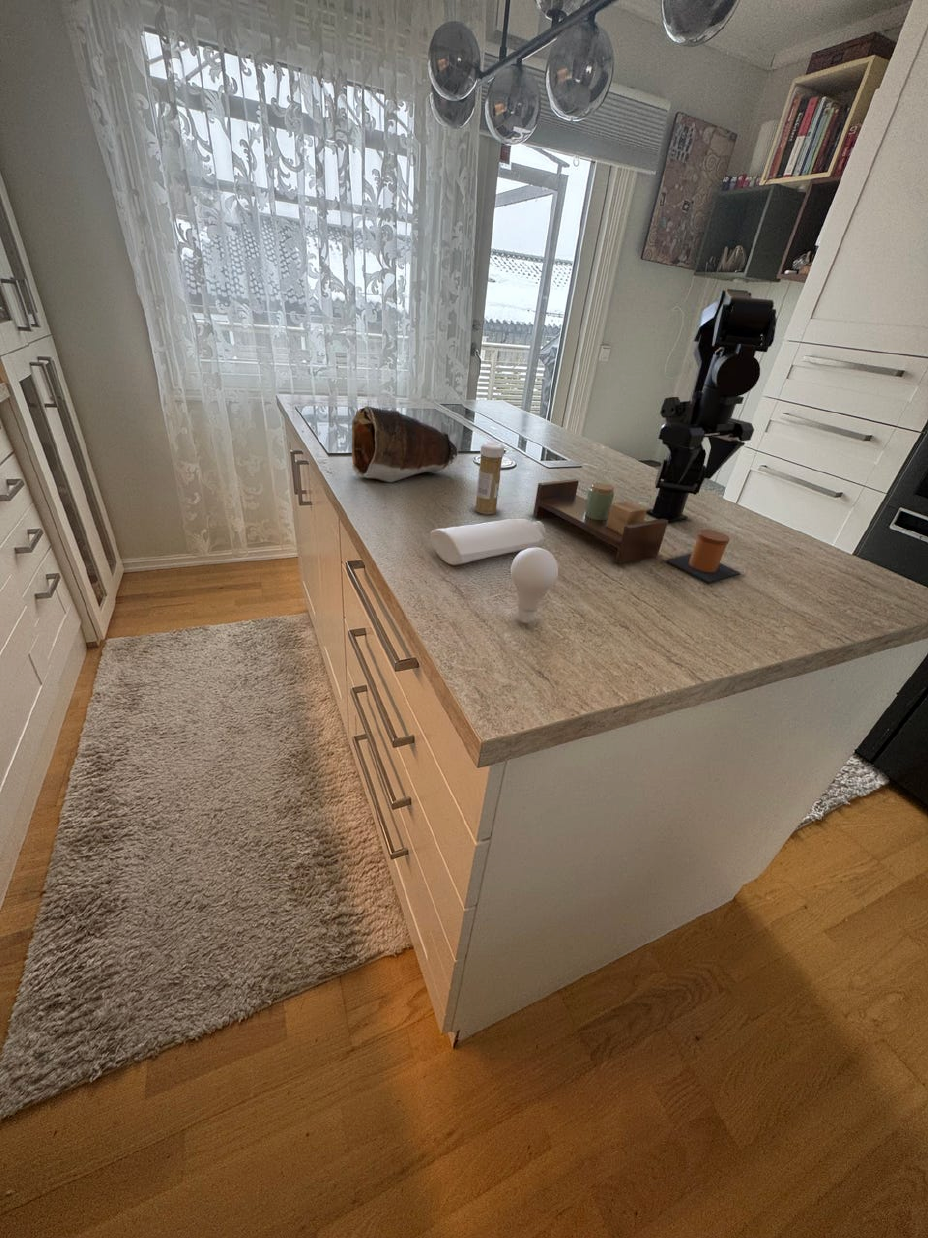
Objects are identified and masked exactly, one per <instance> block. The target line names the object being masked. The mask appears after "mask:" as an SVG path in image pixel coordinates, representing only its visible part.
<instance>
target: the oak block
mask: <svg viewBox="0 0 928 1238" xmlns="http://www.w3.org/2000/svg"><path fill="white" fill-rule="evenodd" d="M647 510H648V508H645V507H644V506H642V505H640V504H637V503H634V502H632V501H630V500H625V501H620V502H619V501H618V502H612V504H611V508H610V513H609V517H608V521H607V525H606V527H608V528H610V529H612V530H614V531H616V532H618V533H620V534H623V531H624V527H625V526H626V525H631V524H636V523H642V522H645V517H646V514H647Z"/></svg>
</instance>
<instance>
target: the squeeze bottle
mask: <svg viewBox="0 0 928 1238" xmlns="http://www.w3.org/2000/svg"><path fill="white" fill-rule="evenodd" d="M545 533H546V531H545V525H544V524H543V523H542V521H540V520H536V521H531V520H528V519H525V518H517V519H516V518H508V519H501V520H496V521H488V522H483V523H482V522H480V523H477V524H476V523H475V524H467V525H460V526H452V527H446V528H436V529H433V530H432V531H430V542H431V543H430V544H431V545H432V547H433V549H434V551H435V552H436V554H437V556H439V558H441V560H443V561H444V562H445V563H446V564H448V565H452V566H457V565H462V564H467V563H470V562H476V561H479V560H484V559H489V558H492V557H498V556H502V555H507V554H511V553H517V552H522V551H523V550H525V549H528V548H533V547H538V548H539V546H543V545H544V543H545V537H544V536H545Z"/></svg>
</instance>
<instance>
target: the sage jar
mask: <svg viewBox="0 0 928 1238" xmlns="http://www.w3.org/2000/svg"><path fill="white" fill-rule="evenodd" d="M614 495H615V491H614V486H613V485H611V484H608V483H603V482H593V483H591V487H589V489H588V494H587V498H586V500H587V502H586V507H585V511H584V515H585V516H586V517H588V518H590V519H594V520H606V519H608V516H609V512H610V509H611V505H612V503H613V500H614V497H615V496H614Z"/></svg>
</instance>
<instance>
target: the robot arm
mask: <svg viewBox="0 0 928 1238" xmlns="http://www.w3.org/2000/svg"><path fill="white" fill-rule="evenodd" d="M774 307H775V302H774V300H773V299H766V298H754V297H752V292H749V290H744V289H732V288H726V289H722V290H721V291H720V293H719V296H718V298H717V300H715V301H714V302H712V303H711V304H710V305H708V306H707V307H705V308H704V309H703V311H702V313H701V315H700V318H699V320H698V323H697V326H696V329H695V332H694V337H693V342H695V345H694V350H693V356H694V359H695V363H696V365H697V370H696V372H695V373H696V374H695V378H694V382H693V384H692V390H691V393H690V397H689V400H686V401H685V400H684V401H681V400H680V397H679V396H670V397H665V398H664V400H663V402H662V405H661V408H660V412H659V413H660V416H661V417H662V418H663V419H665V423H664V424H663V425H661V426H660V429H659V433H658V436H657V439H658V440H661V443H662V445H665V446H666V448H667V449H668V453H667V455H666V458H663V459H662V461H661V464H660V466H659V468H658V471H657V474H656V477H655V482H654V486H655V489H659V490H658V493H657V495H656V497H655V501H654V504H653V508H650V509H647V511H646V514H649V515H651V516H654V517H656V518H657V519H663V518H664V519H666V520H668V523H674V522H678V521H683V520H687V519H688V516H687V515H685V514H683V513H684V509H685V507H686V504H687V500H688V497H689V494H691V495H694V496H696V495H697V494H699V493H700V491H701V487H702V485H703V483H704V481H705V479H707V480H711V479H712V477H714V476H715V474H716V473H718V471H719V470H720V469H721V468H722V467H723V465H724V464H726V462H728V460H729V459H730V458H731V457H733V455H734V454H736V452H737V451H739V449H740V448H742V447H744V446H745V444H746V442H747V441H748V442H750V441H751V440H752V437H753V434H754V432H755V428H754V425H753V424H752V422H749V421H745V420H741V419H737V418H733V414H734V411H735V408H736V406H737V405H742V404H743V401H744V398H745V397H744V396H743V395H745V394H747V393H748V392H750V391H751V390H753V388H755V386H756V385H757V383H758V381H759V379H760V376H761V366H760V362H759V360H758V359H757V358H756V357H755V355H756V352H758V353H767V352H768V351H769V348H771V347H772V345H773V343H774V341H775V336H776V335H775V334H776V328H777V321H778V318H777V316H776V315H777V309H776V308H774ZM706 438H707V439H708V442H709V445H710V449H709V453H708V457H707V451H706V449H705V448H704V445H703V442H704V439H706ZM706 457H707V462H706V465H705V461H706Z"/></svg>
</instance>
